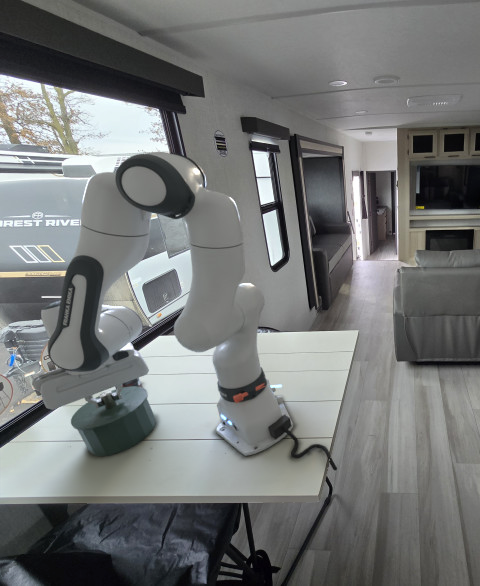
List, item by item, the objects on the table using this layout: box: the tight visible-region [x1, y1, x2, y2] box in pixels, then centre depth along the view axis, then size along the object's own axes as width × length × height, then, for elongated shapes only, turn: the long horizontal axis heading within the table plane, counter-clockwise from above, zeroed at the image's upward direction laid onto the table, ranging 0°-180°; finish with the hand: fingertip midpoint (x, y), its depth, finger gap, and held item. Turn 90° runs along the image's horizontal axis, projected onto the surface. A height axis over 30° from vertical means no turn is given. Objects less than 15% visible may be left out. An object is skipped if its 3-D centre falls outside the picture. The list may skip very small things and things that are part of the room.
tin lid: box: [70, 386, 149, 431], centre depth 82 cm, size 16×16×5 cm
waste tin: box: [77, 398, 157, 457], centre depth 85 cm, size 15×15×10 cm
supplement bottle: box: [122, 377, 142, 388], centre depth 103 cm, size 6×6×11 cm
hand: (109, 402), depth 83 cm, fingers closed on tin lid, 2 cm apart
